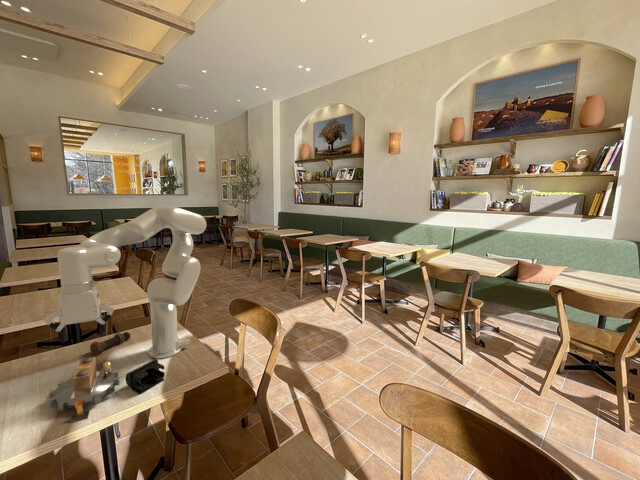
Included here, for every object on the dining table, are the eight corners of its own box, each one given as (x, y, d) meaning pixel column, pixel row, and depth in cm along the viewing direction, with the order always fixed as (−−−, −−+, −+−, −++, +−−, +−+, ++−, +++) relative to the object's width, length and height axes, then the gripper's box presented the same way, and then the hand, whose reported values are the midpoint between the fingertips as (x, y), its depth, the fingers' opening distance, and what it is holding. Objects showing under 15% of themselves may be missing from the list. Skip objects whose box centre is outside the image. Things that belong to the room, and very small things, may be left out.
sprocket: (123, 369, 110) (122, 352, 109) (114, 400, 94) (113, 381, 92) (60, 380, 102) (58, 363, 101) (39, 417, 85) (36, 397, 84)
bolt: (130, 342, 135) (95, 358, 121) (122, 335, 136) (88, 350, 122) (134, 333, 133) (100, 348, 119) (127, 326, 134) (92, 340, 120)
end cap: (153, 373, 111) (152, 356, 109) (165, 379, 107) (165, 362, 106) (125, 388, 102) (124, 370, 101) (138, 395, 99) (137, 377, 98)
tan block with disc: (96, 372, 103) (95, 355, 102) (90, 393, 93) (89, 374, 92) (82, 375, 101) (80, 357, 100) (74, 397, 91) (72, 377, 90)
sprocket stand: (99, 386, 102) (98, 376, 101) (92, 416, 89) (91, 404, 88) (76, 392, 99) (75, 381, 98) (66, 423, 86) (64, 411, 85)
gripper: (112, 279, 100) (117, 327, 103) (44, 287, 91) (51, 338, 94) (110, 286, 93) (115, 337, 96) (36, 295, 85) (44, 350, 88)
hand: (83, 337), depth 95 cm, fingers open, 9 cm apart
